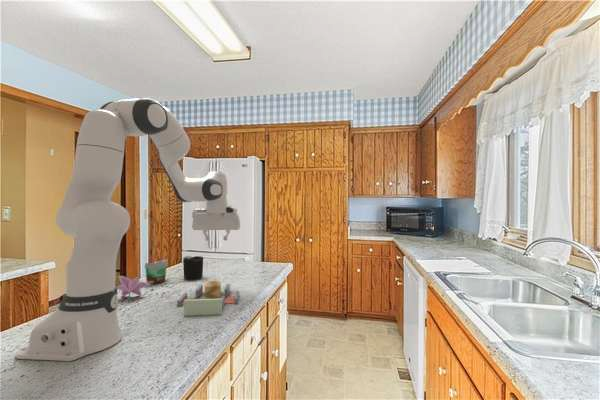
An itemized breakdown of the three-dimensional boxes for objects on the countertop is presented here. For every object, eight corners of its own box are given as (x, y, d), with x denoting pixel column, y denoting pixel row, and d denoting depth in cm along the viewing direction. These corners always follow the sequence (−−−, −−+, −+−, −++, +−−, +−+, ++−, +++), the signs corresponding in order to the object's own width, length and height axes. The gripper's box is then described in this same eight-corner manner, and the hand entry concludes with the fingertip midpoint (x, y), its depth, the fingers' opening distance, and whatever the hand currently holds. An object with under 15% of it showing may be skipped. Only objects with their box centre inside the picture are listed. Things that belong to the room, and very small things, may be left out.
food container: (156, 286, 134) (156, 264, 134) (144, 285, 135) (144, 263, 135) (173, 279, 146) (173, 258, 146) (162, 278, 147) (162, 258, 147)
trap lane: (169, 316, 100) (169, 301, 100) (188, 292, 126) (188, 280, 126) (235, 313, 103) (235, 299, 103) (240, 290, 128) (240, 278, 128)
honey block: (204, 299, 118) (204, 286, 118) (205, 293, 125) (206, 281, 125) (220, 298, 119) (220, 285, 119) (220, 292, 127) (220, 280, 127)
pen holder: (186, 275, 153) (186, 256, 153) (205, 275, 153) (205, 256, 153) (180, 280, 143) (180, 259, 143) (200, 280, 144) (200, 259, 144)
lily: (154, 299, 120) (153, 276, 124) (134, 296, 109) (133, 271, 113) (127, 307, 120) (127, 284, 125) (104, 305, 110) (105, 280, 114)
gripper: (190, 209, 127) (190, 241, 127) (239, 209, 129) (239, 241, 129) (193, 208, 133) (193, 239, 133) (240, 208, 135) (240, 239, 135)
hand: (216, 240), depth 131 cm, fingers open, 6 cm apart
